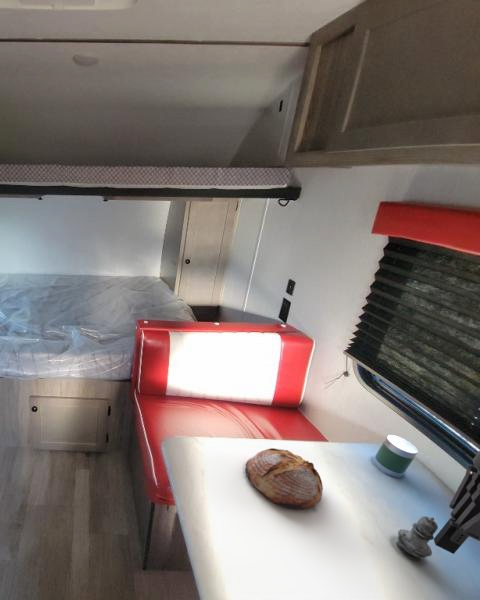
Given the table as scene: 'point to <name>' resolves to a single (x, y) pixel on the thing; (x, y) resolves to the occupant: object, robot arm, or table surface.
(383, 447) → the tin can
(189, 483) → the table surface
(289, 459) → the bread
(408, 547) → the grey stone statuette
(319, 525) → the table surface
